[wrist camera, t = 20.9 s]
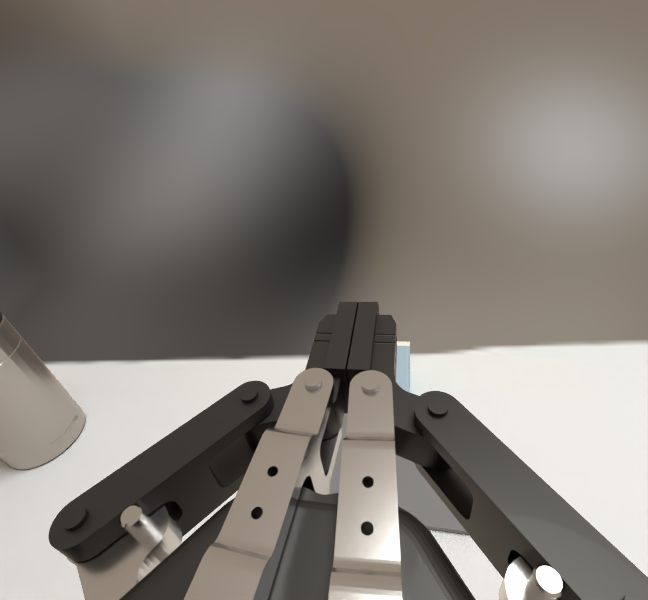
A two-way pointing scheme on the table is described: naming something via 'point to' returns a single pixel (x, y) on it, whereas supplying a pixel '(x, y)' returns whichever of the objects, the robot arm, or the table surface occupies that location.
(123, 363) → the table surface
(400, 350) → the blue block
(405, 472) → the mat
